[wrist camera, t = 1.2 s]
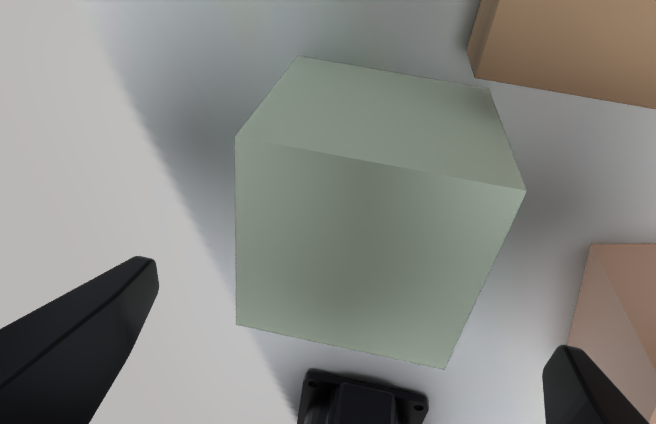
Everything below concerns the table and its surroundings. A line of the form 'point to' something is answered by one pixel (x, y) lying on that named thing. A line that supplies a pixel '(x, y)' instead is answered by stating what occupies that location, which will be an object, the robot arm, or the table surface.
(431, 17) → the table surface
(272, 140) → the sage cube
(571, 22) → the walnut block
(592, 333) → the clay cube
